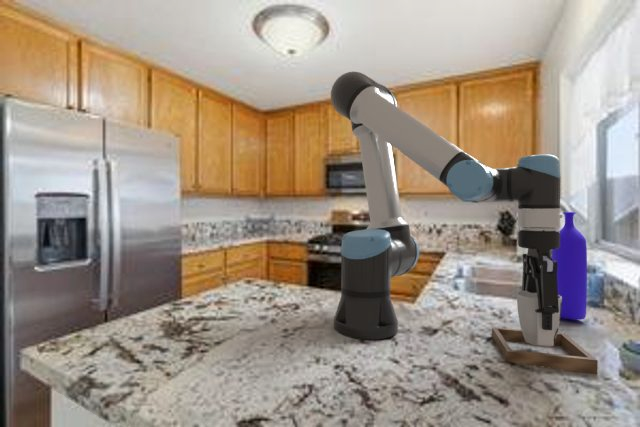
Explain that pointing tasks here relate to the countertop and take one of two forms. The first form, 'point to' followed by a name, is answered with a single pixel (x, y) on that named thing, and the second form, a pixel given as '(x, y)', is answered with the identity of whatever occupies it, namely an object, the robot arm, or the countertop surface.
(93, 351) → the countertop surface
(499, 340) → the tray
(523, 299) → the cup
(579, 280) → the bottle
